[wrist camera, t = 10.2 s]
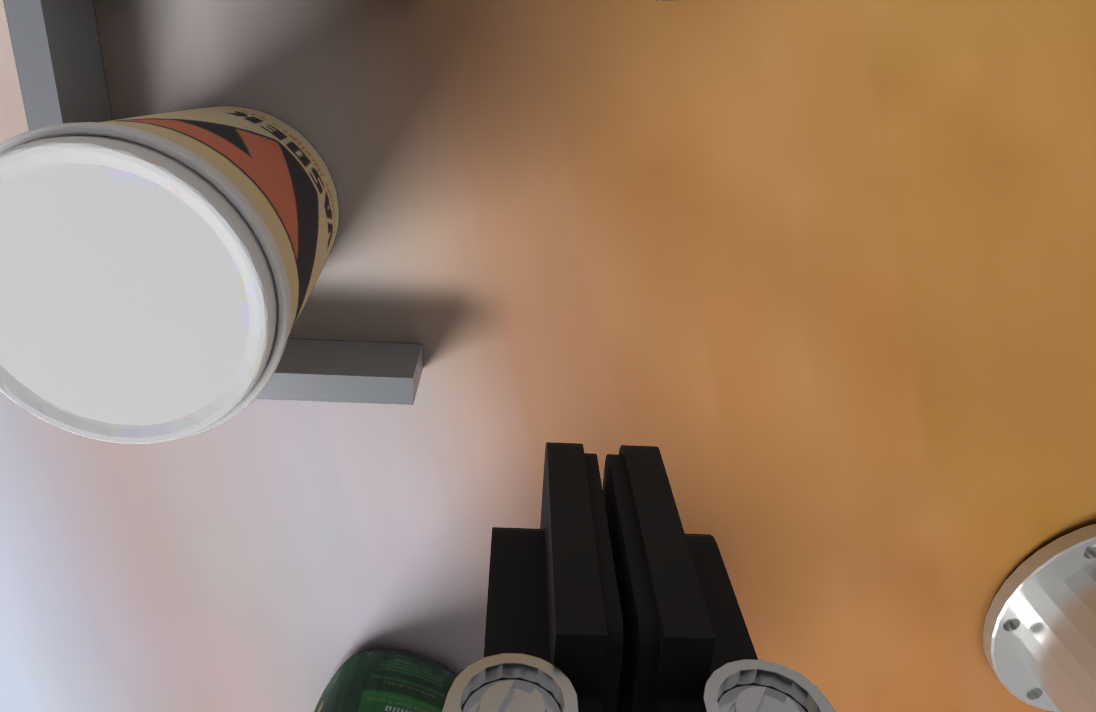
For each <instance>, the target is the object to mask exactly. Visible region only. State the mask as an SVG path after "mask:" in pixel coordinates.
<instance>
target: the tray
mask: <svg viewBox="0 0 1096 712" xmlns="http://www.w3.org/2000/svg"><path fill="white" fill-rule="evenodd" d="M3 2H4V8H5V13H6V18H7V23H8V28H9V33H10V38H11V43H12V48H13V53H14V58H15V63H16V68H17V73H18V78H19V83H20V88H21V93H22V98H23V103H24V108H25V113H26V118H27V123H28V128H29V131H30V130H34V129H38V128H41V127H45V126H50V125H57V124H63V123H79V122H97V123H99V122H105V121H111V120H112V119H111V113H110V106H109V100H108V94H107V87H106V81H105V75H104V68H103V62H102V56H101V49H100V43H99V37H98V30H97V24H96V18H95V11H94V5H93V0H3ZM422 370H423V344H406V343H382V342H357V341H333V340H308V339H287V343H286V347H285V349H284V352H283V354H282V357H281V360H280V362H279V365H278V367H277V369H276V370H275V372H274V374H273V376H272V378H271V379H270V381H269V382H268V384H267V385H266V386H265V388H264V389H263V391H262V392H261V393H260V394H259V395H258V396H257V397H256V398H255V399H273V400H300V401H327V402H354V403H381V404H408V405H413V403H414V399H415V396H416V392H417V388H418V384H419V381H420V377H421V373H422Z"/></svg>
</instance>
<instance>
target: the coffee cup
mask: <svg viewBox="0 0 1096 712" xmlns="http://www.w3.org/2000/svg"><path fill="white" fill-rule="evenodd" d="M338 219H339V206H338V198H337V193H336V189H335V186H334V182H333V180H332V177H331V175H330V173H329V171H328V168H327V166H326V164H325V163H324V161H323V160H322V158H321V157H320V155H319V154H318V152H317V151H316V150H315V149H314V148H313V146H312V145H311V144H310V143H309V142H308V141H307V140H306V139H305V138H304V137H303V136H302V135H301V134H300V133H298V132H297V131H296V130H295V129H294V128H292V127H291V126H289V125H288V124H286V123H285V122H283V121H281V120H279V119H277V118H275V117H273V116H271V115H269V114H266V113H263V112H261V111H257V110H253V109H249V108H244V107H237V106H218V107H205V108H197V109H189V110H181V111H174V112H166V113H159V114H151V115H145V116H138V117H131V118H125V119H118V120H111V121H105V122H99V123H97V122H79V123H63V124H57V125H50V126H45V127H41V128H38V129H34V130H30V131H27V132H25V133H22V134H20V135H18V136H15V137H13V138H11V139H9V140H7V141H6V142H4V143H2V144H0V391H1V392H2V393H3V394H5V395H6V396H7V397H8V398H9V399H11V400H12V401H14V402H15V403H17V404H18V405H20V406H21V407H22V408H24V409H26V410H27V411H29V412H30V413H32V414H33V415H35V416H36V417H38V418H40V419H42V420H44V421H46V422H48V423H50V424H53V425H55V426H57V427H59V428H62V429H64V430H66V431H69V432H71V433H75V434H78V435H82V436H85V437H88V438H93V439H97V440H101V441H107V442H115V443H127V444H148V443H158V442H164V441H169V440H174V439H180V438H184V437H189V436H193V435H196V434H199V433H202V432H205V431H208V430H210V429H212V428H214V427H216V426H218V425H220V424H222V423H224V422H226V421H228V420H229V419H231V418H232V417H234V416H235V415H237V414H238V413H240V412H241V411H242V410H243V409H244V408H245V407H247V406H248V405H249V404H250V403H251V402H252V401H253V400H254V399H255V398H256V397H257V396H258V395H259V394H260V393H261V392H262V391H263V389H264V388H265V386H266V385H267V384H268V382H269V381H270V379H271V378H272V376H273V374H274V372H275V370H276V369H277V367H278V365H279V362H280V360H281V357H282V354H283V352H284V349H285V347H286V343H287V339H288V337H289V335H290V333H291V331H292V329H293V327H294V325H295V323H296V321H297V319H298V317H299V315H300V313H301V311H302V309H303V307H304V305H305V304H306V302H307V300H308V298H309V295H310V293H311V291H312V289H313V287H314V285H315V283H316V281H317V279H318V277H319V275H320V273H321V271H322V269H323V267H324V265H325V263H326V260H327V258H328V256H329V254H330V251H331V249H332V246H333V243H334V240H335V237H336V234H337V228H338Z"/></svg>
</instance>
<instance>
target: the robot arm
mask: <svg viewBox="0 0 1096 712" xmlns="http://www.w3.org/2000/svg"><path fill="white" fill-rule="evenodd" d="M983 644H984V652H985V655H986V657H987V660H988V663H989V665H990V667H991V668H992V670H993V671H994V673H995V674H996V676H997V677H998V679H999V680H1000V682H1001V683H1002V684H1003V685H1004V686H1005V687H1006V688H1007V689H1008V690H1009V692H1010V693H1011V694H1012V695H1014V696H1015V697H1017V698H1018V699H1020V700H1021V701H1023V702H1024V703H1026V704H1029V705H1032V706H1034V707H1037V708H1040V709H1043V710H1047V711H1053V712H1096V524H1093V525H1089V526H1086V527H1083V528H1080V529H1078V530H1075V531H1073V532H1071V533H1068V534H1066V535H1064V536H1061V537H1059V538H1058V539H1056V540H1054V541H1053V542H1051V543H1049V544H1048V545H1046V546H1044V547H1043V548H1041V549H1039V550H1038V551H1037V552H1035V553H1034V554H1033V555H1032V556H1030V557H1029V558H1028V559H1027V560H1025V561H1024V562H1023V563H1022V564H1021V565H1020V566H1019V567H1018V568H1017V569H1016V570H1015V571H1014V572H1013V573H1012V574H1011V575H1010V576H1009V577H1008V578H1007V580H1006V581H1005V582H1004V584H1003V585H1002V587H1001V588H1000V590H999V591H998V593H997V594H996V596H995V597H994V599H993V601H992V603H991V606H990V608H989V610H988V613H987V615H986V619H985V624H984V630H983ZM442 712H835V710H834V709H833V707H832V706H831V704H830V702H829V701H828V700H827V699H826V697H825V696H824V695H823V694H822V692H821V691H820V690H819V689H818V688H817V686H815V685H814V684H813V683H811V682H810V681H809V680H808V679H806V678H805V677H804V676H802V675H801V674H799V673H797V672H795V671H793V670H791V669H789V668H787V667H785V666H783V665H780V664H776V663H772V662H768V661H764V660H758V658H757V656H756V653H755V650H754V647H753V644H752V641H751V639H750V636H749V633H748V630H747V627H746V624H745V622H744V619H743V616H742V613H741V610H740V608H739V605H738V602H737V599H736V596H735V593H734V591H733V588H732V585H731V582H730V579H729V577H728V574H727V571H726V568H725V565H724V562H723V560H722V557H721V554H720V551H719V548H718V546H717V543H716V541H715V539H714V537H713V536H711V535H705V534H684V530H683V527H682V524H681V520H680V517H679V514H678V510H677V507H676V504H675V500H674V497H673V494H672V490H671V487H670V484H669V480H668V477H667V474H666V470H665V467H664V464H663V460H662V457H661V454H660V450H659V448H658V447H652V446H626V445H621V447H620V450H619V455H613V454H607V456H606V461H605V469H604V479H603V489H602V485H601V479H600V472H599V466H598V460H597V455H596V454H586V453H584V449H583V444H574V443H548V442H546V449H545V463H544V479H543V494H542V509H541V525H540V529H525V528H495V527H493V528H492V542H491V557H490V572H489V587H488V603H487V618H486V633H485V648H484V658H483V659H481V660H479V661H477V662H475V663H473V664H471V665H469V666H468V667H467V668H465V669H464V670H463V671H462V672H461V673H460V674H459V675H458V676H457V677H456V678H455V680H454V682H453V684H452V686H451V688H450V690H449V692H448V694H447V697H446V701H445V704H444V707H443V710H442Z"/></svg>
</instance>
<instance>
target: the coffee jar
mask: <svg viewBox="0 0 1096 712" xmlns="http://www.w3.org/2000/svg"><path fill="white" fill-rule="evenodd" d="M456 677H457V675H456V674H454V673H453V672H451V671H450V670H448V669H446V668H445V667H443V666H441V665H440V664H438V663H436V662H434V661H431V660H429V659H427V658H424V657H422V656H420V655H415V654H412V653H408V652H404V651H393V650H383V649H379V650H370V651H363V652H360V653H358V654H355V655H354V656H352V657H351V658H349V659H348V660H347V661H345V663H344V664H343V665H342V666H341V667H340V668H339V669H338V671H337V672H336V674H335V675H334V676H333V678H332V679H331V681H330V682H329V684H328V685H327V687H326V689H325V690H324V692H323V694H322V696H321V698H320V700H319V702H318V704H317V706H316V709H315V711H314V712H442V710H443V707H444V704H445V701H446V697H447V694H448V692H449V690H450V688H451V686H452V684H453V682H454V680H455V678H456Z"/></svg>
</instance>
